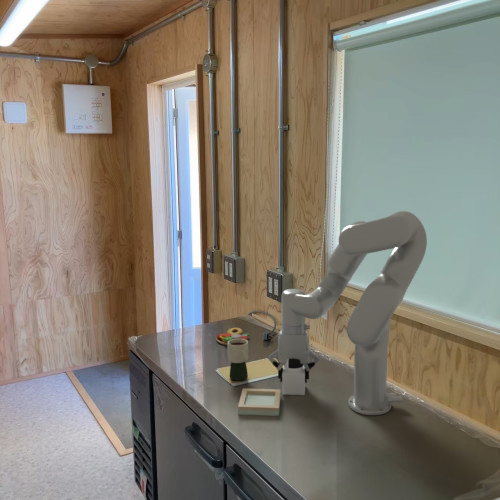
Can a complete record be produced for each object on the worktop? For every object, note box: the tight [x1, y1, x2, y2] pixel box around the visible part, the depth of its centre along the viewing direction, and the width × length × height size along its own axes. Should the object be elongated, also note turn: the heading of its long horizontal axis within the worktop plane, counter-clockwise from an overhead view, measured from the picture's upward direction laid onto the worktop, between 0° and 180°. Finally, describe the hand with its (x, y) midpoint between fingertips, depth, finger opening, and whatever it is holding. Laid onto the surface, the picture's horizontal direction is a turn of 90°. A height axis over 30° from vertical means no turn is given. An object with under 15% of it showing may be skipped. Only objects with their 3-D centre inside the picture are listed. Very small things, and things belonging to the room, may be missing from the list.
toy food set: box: [215, 327, 250, 346], centre depth 216 cm, size 13×13×3 cm
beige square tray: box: [237, 387, 282, 417], centre depth 160 cm, size 12×12×2 cm
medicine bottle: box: [281, 359, 306, 396], centre depth 169 cm, size 7×7×12 cm
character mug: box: [226, 339, 250, 381], centre depth 179 cm, size 11×7×13 cm, turn 25°
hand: (293, 380), depth 170 cm, fingers closed on medicine bottle, 7 cm apart
